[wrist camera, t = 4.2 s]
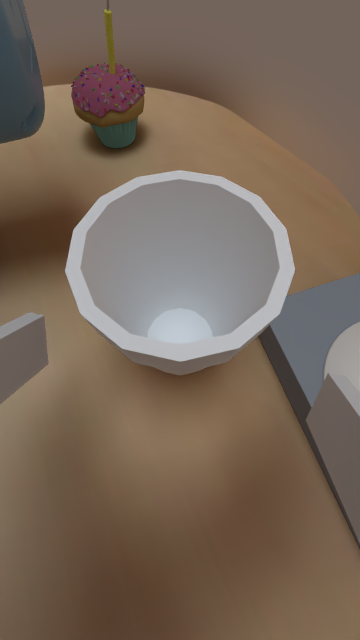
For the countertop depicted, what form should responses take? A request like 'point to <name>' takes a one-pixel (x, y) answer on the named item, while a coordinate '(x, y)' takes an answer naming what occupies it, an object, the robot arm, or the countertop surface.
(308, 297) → the pedestal
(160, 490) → the countertop surface
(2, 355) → the robot arm
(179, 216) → the foam cup
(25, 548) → the countertop surface
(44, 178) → the countertop surface
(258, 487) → the countertop surface
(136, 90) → the cupcake
